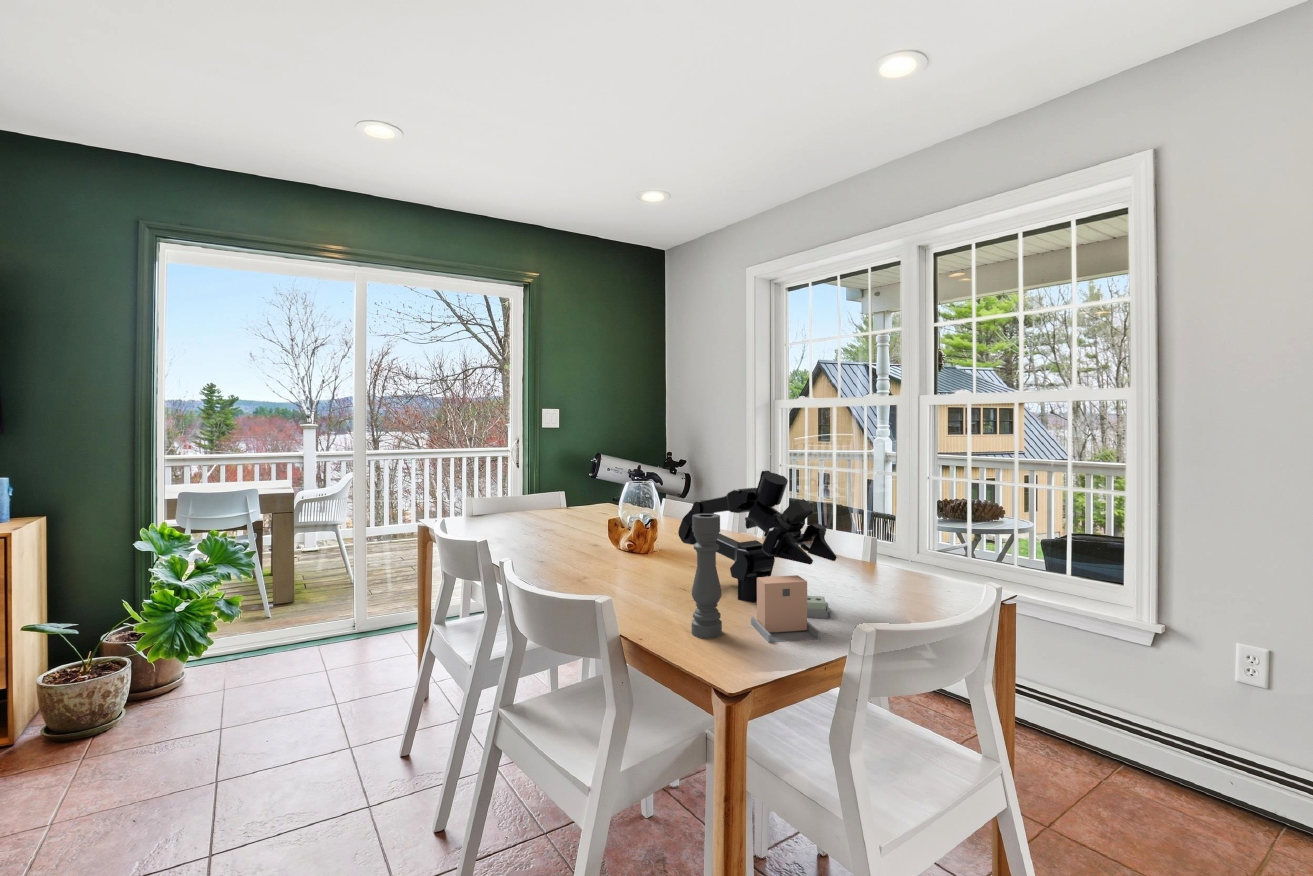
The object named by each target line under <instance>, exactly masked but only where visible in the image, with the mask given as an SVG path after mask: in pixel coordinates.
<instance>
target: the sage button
mask: <svg viewBox="0 0 1313 876" xmlns="http://www.w3.org/2000/svg"><path fill="white" fill-rule="evenodd" d="M826 603H827V601H826V598H825V596H823V595H822V596H820V595H807V610H818V611H826Z"/></svg>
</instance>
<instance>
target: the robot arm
mask: <svg viewBox="0 0 1313 876" xmlns="http://www.w3.org/2000/svg"><path fill="white" fill-rule="evenodd" d="M759 476H760V478H759V482H758V484H757V486H756V487H747V488H737V489H736V488H735V489H733V490H731V491H729V492H728V493H727V494H726V495H724V496H720V497H715V498H710V499H702V500H696V501H694V502H693V503H692V507H691V509H690V510H689V511H688V512H687V513H686V514H685V515H684V517H682V520H681V522H680V525H679V528H678V531H677V532H678V533H677V534H678V537H679V539H680V541H681V542H682V543H683V544H687V545H690V546H691V545H692V546H694V544H696V543H697V540H696V538H695V537H694V532H692V515H695V514H716V513H722V512H723V513H724V512H730V513H733V514H734V513H736V514H741V513H744V514H745V513H748V515H747V517H745V518H744V521H745V528H746V529H747V530H748V529H752V528H759V529H760V530H761V531H763V532H764V535H763V536H764V537H765V538H764V540H763V542H760V541H758V540H756V539H755V540H754V539H753V540H748V541H741V542H739V541H738V540H735V539H733V538H731V537H728V536H726V535H723V534H722V533H720V532H719V536H718V538H717V540H716V543H717V544H718V545H719V549H718V550H717V552H716V554H717V553H718V554H719V555H721V556H723V557H726V558H727V559H730V560H732V561H733V562H734V563H733V564H732V565H731V566H730V568H729V569H730V570H729V571H730V575H731V578H733V579H737V600H738V601H744V602H749V603H757V577H772V576H771V575H772V572H773V568H774V566H775V560H776V559H775V558H777V559H778V558H779V559H783V560H789V561H793V562H798V563H802V564H805V565H813V563H814V560H813V558H812V557H811V556H810V555H813V556H817V557H819V558H823V559H826V560H829V561H832V562H835V561H836V560H837V558H838V557H837V555H836V554H835V553H834V551H833V550H832V548H831V547H830V546H829V544H828V542H827V541H826V539H825V536H826V532H827V528H826V527H825V526H824V525H822V524H820V523H818V524H816V523H815V524H810V525H807V526H806V528H805V530H804V532H803V533H802V529H803V528H804V526H805V523H804V521H805V520H806V519H807V518H808V517H809V516H810V515H813V514H814V511H815V510H814V505H813V503H811V502H809V501H808V500H806V499H796V500H794V501H792V503H790V505H788V507H786V509H785V510H783V512H782V513H781V512H780V511H779V510H777V509H775V508H774V507H775V506H778V505H780V504H781V502H782V500H783V497H784V494H785V492H786V488H787V486H788V485H787V484H788V482H789V481H788V479H787V478H786V476H785V475H781V474H778V473H775V472H772V471H770V470H761V473H760V475H759ZM809 554H810V555H809Z"/></svg>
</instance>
